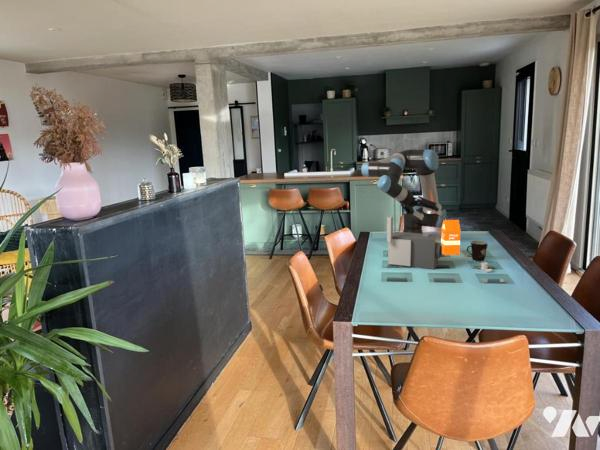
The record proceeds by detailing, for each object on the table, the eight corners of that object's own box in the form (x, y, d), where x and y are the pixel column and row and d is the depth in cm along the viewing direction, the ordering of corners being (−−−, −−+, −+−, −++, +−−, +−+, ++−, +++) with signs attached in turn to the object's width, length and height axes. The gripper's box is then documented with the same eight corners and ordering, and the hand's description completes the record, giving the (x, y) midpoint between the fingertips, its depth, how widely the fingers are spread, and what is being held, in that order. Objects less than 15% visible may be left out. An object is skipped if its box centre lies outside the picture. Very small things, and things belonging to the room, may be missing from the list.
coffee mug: (484, 257, 256) (485, 240, 254) (488, 262, 248) (489, 244, 245) (462, 257, 257) (463, 240, 255) (466, 262, 249) (467, 244, 247)
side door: (388, 263, 247) (389, 216, 242) (410, 265, 242) (411, 217, 237) (386, 265, 244) (387, 217, 238) (409, 267, 239) (410, 219, 233)
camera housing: (394, 259, 258) (394, 229, 255) (442, 263, 247) (443, 233, 243) (388, 264, 248) (389, 234, 244) (438, 270, 236) (439, 238, 233)
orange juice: (459, 254, 263) (461, 221, 259) (444, 255, 263) (445, 221, 259) (455, 251, 270) (456, 218, 266) (440, 251, 271) (441, 218, 267)
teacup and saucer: (494, 273, 229) (495, 266, 228) (477, 273, 231) (478, 265, 230) (491, 268, 238) (491, 261, 237) (474, 268, 239) (475, 260, 238)
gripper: (385, 206, 244) (413, 225, 252) (418, 197, 223) (447, 218, 230) (389, 194, 247) (416, 213, 254) (422, 184, 225) (451, 205, 233)
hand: (431, 215), depth 242 cm, fingers open, 13 cm apart
